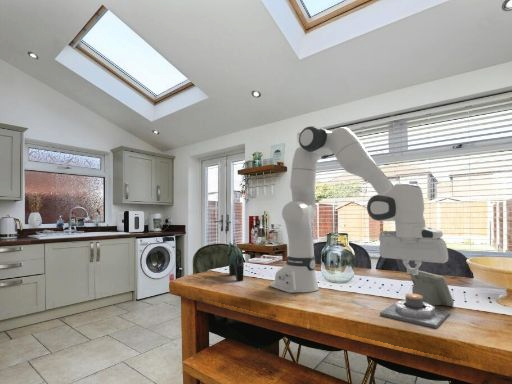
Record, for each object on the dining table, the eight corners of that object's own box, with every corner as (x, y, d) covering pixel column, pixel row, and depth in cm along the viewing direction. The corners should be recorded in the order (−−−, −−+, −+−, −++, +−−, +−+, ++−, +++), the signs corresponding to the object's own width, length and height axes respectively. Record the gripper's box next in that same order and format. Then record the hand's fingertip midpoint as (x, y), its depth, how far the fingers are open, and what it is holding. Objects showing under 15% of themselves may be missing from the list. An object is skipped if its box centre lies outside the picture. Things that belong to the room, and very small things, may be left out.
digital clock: (457, 307, 101) (454, 276, 102) (431, 308, 101) (429, 277, 102) (428, 294, 118) (427, 267, 118) (406, 295, 117) (404, 268, 118)
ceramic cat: (226, 274, 165) (226, 238, 166) (238, 273, 167) (237, 237, 168) (234, 282, 146) (234, 241, 147) (247, 280, 148) (246, 240, 149)
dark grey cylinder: (403, 311, 96) (402, 296, 96) (409, 307, 99) (408, 292, 100) (420, 315, 92) (419, 299, 93) (425, 311, 96) (424, 295, 96)
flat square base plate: (380, 315, 96) (379, 306, 96) (398, 303, 107) (397, 295, 107) (436, 328, 84) (435, 317, 85) (449, 313, 96) (449, 304, 96)
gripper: (375, 231, 103) (377, 271, 102) (442, 233, 88) (445, 280, 87) (382, 230, 107) (384, 268, 106) (448, 231, 93) (451, 276, 92)
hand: (412, 274), depth 96 cm, fingers closed
